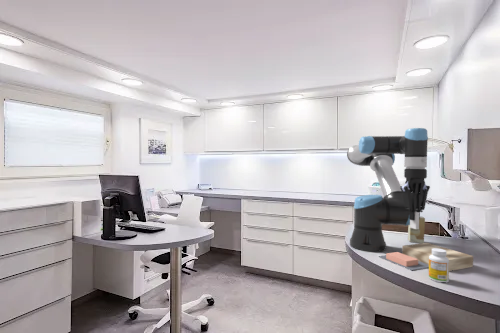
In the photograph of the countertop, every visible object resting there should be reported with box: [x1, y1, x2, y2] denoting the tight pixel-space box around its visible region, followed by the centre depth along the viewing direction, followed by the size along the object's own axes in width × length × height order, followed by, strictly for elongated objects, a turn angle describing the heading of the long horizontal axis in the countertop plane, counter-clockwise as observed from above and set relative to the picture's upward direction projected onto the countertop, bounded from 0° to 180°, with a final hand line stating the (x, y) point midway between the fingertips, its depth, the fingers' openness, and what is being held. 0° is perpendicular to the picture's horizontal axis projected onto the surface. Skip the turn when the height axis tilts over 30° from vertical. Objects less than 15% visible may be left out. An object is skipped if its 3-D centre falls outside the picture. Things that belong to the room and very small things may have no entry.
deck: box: [401, 242, 474, 272], centre depth 107 cm, size 18×14×4 cm
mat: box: [378, 254, 429, 271], centre depth 105 cm, size 15×10×1 cm
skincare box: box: [407, 216, 426, 244], centre depth 133 cm, size 6×4×12 cm
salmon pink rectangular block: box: [385, 251, 418, 267], centre depth 104 cm, size 9×6×2 cm, turn 21°
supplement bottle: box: [428, 248, 450, 283], centre depth 89 cm, size 5×5×10 cm
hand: (414, 228), depth 107 cm, fingers closed
